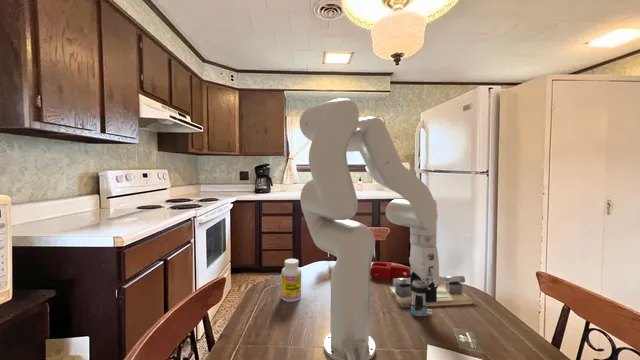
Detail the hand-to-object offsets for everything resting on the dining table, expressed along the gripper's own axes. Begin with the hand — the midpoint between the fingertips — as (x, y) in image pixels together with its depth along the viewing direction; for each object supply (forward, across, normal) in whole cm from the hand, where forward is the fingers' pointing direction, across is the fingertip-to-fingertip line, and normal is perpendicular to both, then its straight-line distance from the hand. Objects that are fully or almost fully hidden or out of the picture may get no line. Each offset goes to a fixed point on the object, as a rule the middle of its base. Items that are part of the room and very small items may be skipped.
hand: (422, 293), depth 86 cm
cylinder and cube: (+5, +10, -7) cm, 13 cm away
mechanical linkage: (+7, +28, 0) cm, 29 cm away
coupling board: (+6, +10, -7) cm, 14 cm away
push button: (+6, 0, +1) cm, 6 cm away
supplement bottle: (+5, +14, +40) cm, 43 cm away
